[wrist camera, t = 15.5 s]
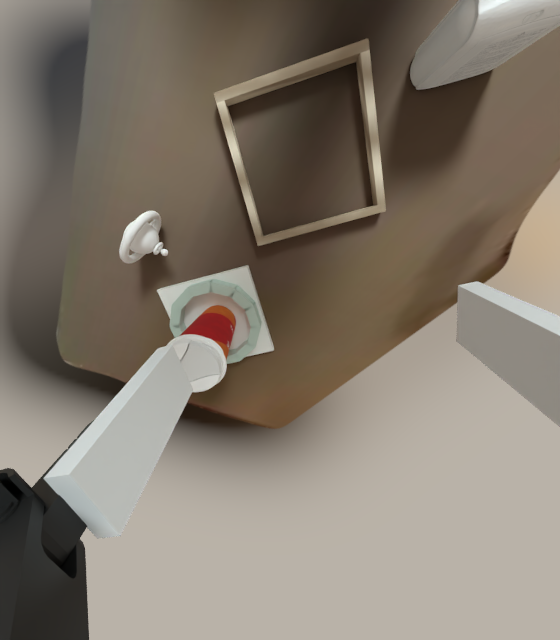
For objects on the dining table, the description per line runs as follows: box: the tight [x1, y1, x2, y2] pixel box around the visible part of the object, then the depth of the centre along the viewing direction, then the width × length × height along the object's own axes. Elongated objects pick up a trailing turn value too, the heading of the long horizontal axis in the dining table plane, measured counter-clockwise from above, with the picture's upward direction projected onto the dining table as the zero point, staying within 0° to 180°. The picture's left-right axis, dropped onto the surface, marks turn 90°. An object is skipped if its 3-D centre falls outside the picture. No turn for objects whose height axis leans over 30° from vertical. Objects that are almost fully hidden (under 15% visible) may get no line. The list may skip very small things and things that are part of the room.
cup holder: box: [157, 265, 274, 364], centre depth 43 cm, size 15×15×3 cm
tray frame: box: [214, 38, 386, 246], centre depth 34 cm, size 18×18×2 cm
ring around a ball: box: [119, 211, 168, 263], centre depth 36 cm, size 8×6×8 cm
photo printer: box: [410, 0, 560, 90], centre depth 25 cm, size 10×4×12 cm, turn 103°
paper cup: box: [167, 305, 236, 392], centre depth 37 cm, size 8×8×14 cm
